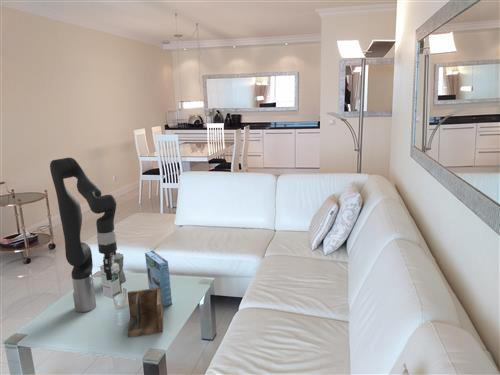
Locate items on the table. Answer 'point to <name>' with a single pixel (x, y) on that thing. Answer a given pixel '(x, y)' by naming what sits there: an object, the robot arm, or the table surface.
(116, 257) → the coffeepot
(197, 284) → the table surface
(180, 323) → the table surface
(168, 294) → the gum box
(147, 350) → the table surface
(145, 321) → the bookshelf
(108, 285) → the syrup box
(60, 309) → the table surface
